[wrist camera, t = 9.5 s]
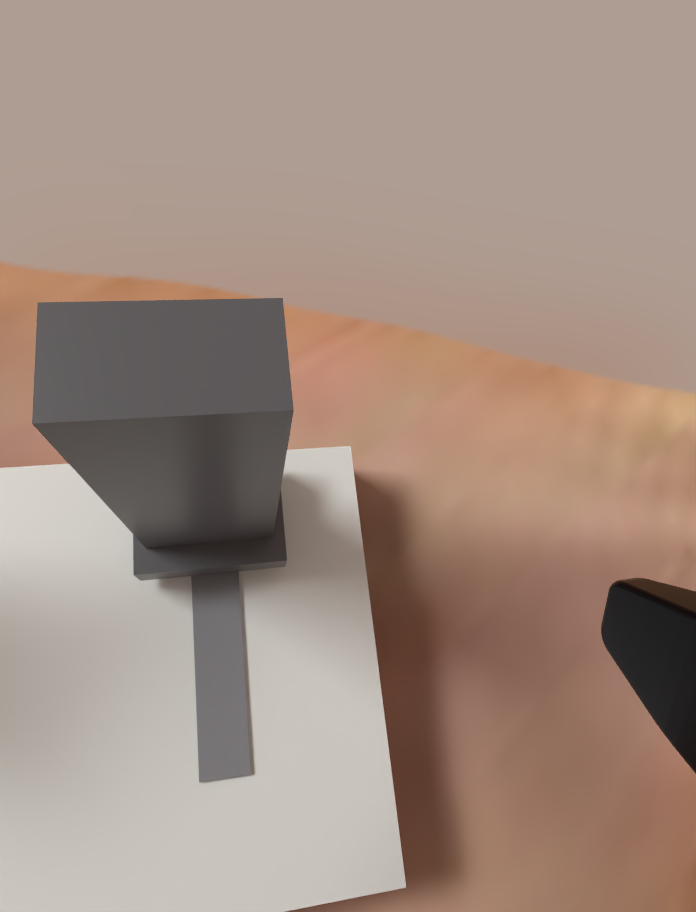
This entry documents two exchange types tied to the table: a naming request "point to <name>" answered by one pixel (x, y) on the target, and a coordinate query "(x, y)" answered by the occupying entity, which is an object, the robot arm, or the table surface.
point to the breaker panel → (189, 712)
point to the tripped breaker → (174, 423)
